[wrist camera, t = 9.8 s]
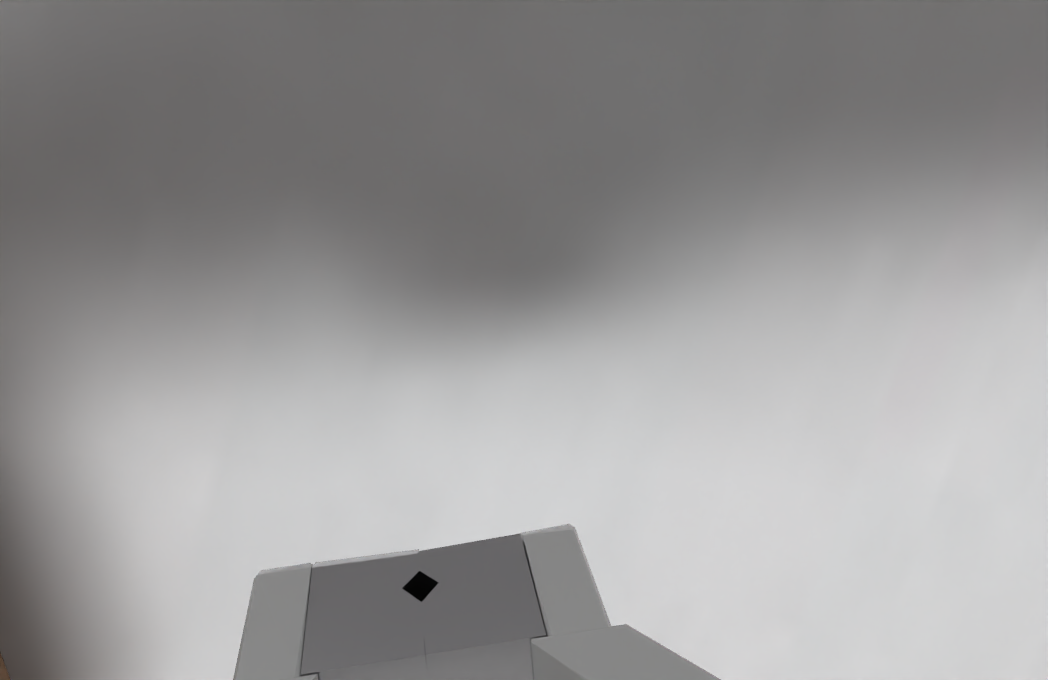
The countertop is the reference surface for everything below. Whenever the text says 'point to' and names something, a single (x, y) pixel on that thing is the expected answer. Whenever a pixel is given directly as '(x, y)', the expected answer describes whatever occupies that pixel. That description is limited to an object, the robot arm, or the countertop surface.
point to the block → (3, 670)
